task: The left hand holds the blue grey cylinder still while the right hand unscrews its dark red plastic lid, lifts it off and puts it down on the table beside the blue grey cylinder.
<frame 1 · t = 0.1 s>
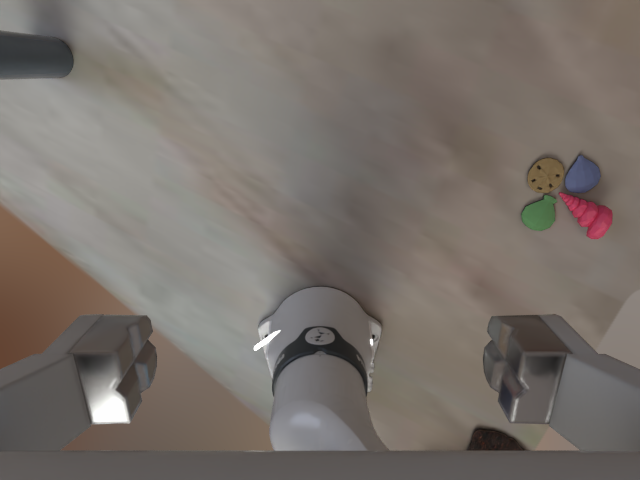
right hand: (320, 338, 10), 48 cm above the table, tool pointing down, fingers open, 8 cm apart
axe head: (471, 466, 77), on the table
toy pieces: (562, 194, 59), on the table
blue grey cylinder: (54, 57, 52), on the table
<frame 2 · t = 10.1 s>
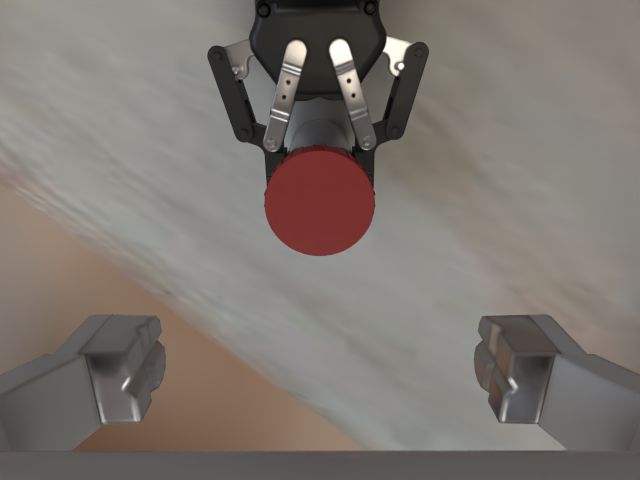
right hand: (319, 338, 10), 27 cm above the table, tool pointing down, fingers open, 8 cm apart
left hand: (320, 200, 31), fingers closed on blue grey cylinder, 4 cm apart
lid: (319, 203, 21), point 16 cm above the table, screwed on, not yet turned
blue grey cylinder: (319, 147, 36), on the table, touching left hand
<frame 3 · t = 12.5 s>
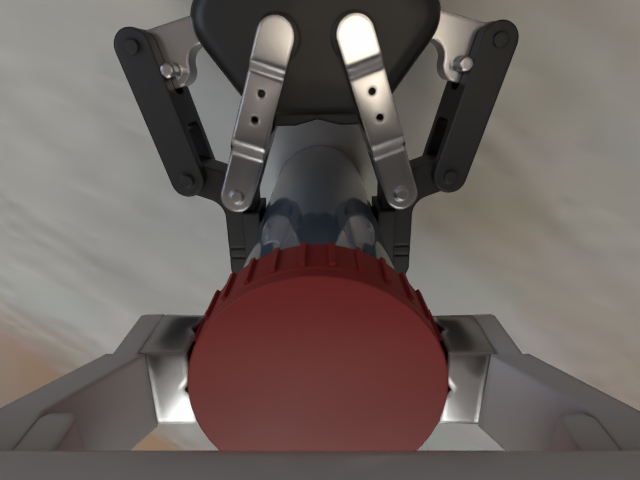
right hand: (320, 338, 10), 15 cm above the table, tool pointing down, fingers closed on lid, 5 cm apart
left hand: (321, 283, 19), fingers closed on blue grey cylinder, 4 cm apart
lid: (317, 381, 9), point 16 cm above the table, screwed on, not yet turned, touching right hand
blue grey cylinder: (319, 187, 24), on the table, touching left hand
when the right hand's fingers open (15 cm above the table, at t = 13.6 s): lid stays where it is, point 16 cm above the table.
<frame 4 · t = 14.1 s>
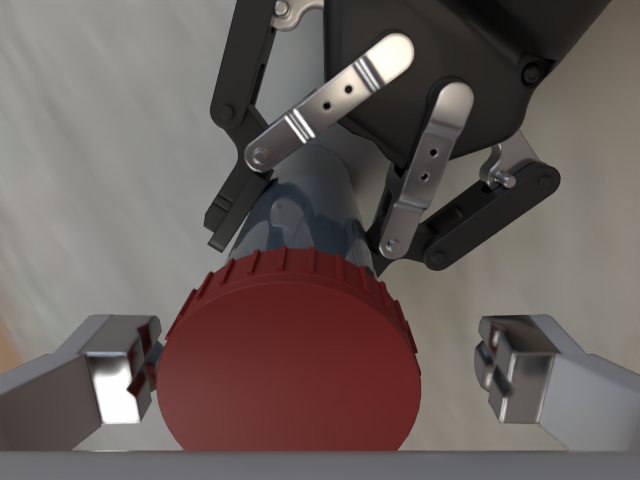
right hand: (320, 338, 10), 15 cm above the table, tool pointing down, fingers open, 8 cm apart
left hand: (272, 273, 19), fingers closed on blue grey cylinder, 4 cm apart
lid: (290, 387, 9), point 16 cm above the table, turned 69° so far, risen 0.2 cm, still on its thread
blue grey cylinder: (309, 186, 24), on the table, touching left hand
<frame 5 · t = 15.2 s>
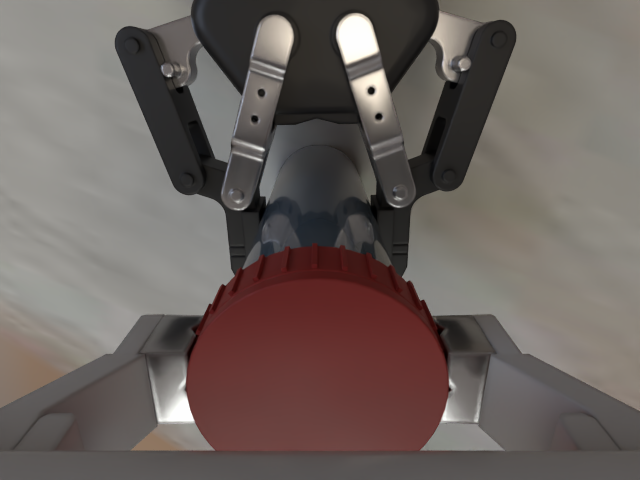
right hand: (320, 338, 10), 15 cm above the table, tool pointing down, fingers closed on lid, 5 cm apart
left hand: (320, 281, 19), fingers closed on blue grey cylinder, 4 cm apart
lid: (317, 384, 9), point 16 cm above the table, turned 69° so far, risen 0.2 cm, still on its thread, touching right hand
blue grey cylinder: (318, 186, 24), on the table, touching left hand
when the right hand's fingers open (2 cm above the table, at t = 20.9 s): lid drops 2 cm, point 1 cm above the table.
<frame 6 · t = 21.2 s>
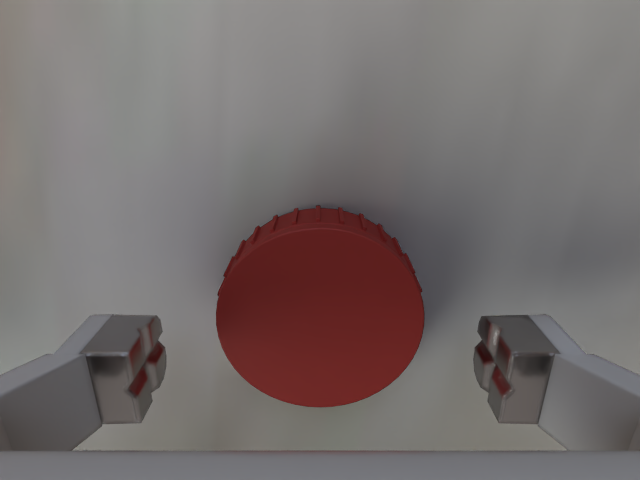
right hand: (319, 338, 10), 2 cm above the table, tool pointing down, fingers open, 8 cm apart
lid: (320, 318, 11), point 1 cm above the table, off its thread
when the left hand's fingers open (6 cm above the table, at t = 22.0 s): blue grey cylinder stays where it is, on the table.
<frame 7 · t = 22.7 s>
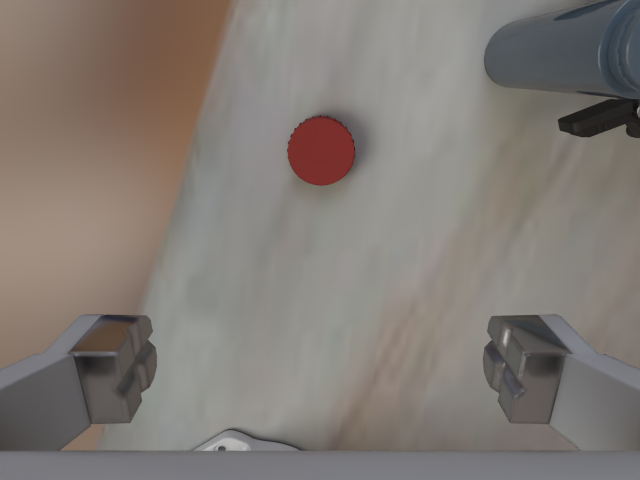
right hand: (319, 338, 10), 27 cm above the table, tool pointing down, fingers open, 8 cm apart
lid: (321, 152, 34), point 1 cm above the table, off its thread
blue grey cylinder: (514, 55, 33), on the table
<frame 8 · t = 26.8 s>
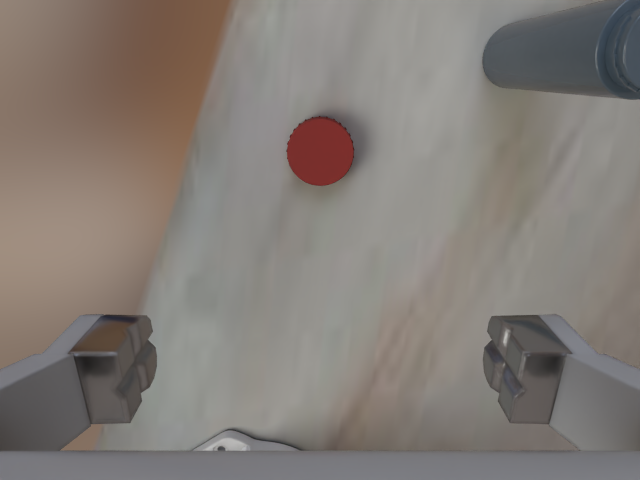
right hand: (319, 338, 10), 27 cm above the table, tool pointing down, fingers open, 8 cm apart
lid: (320, 152, 34), point 1 cm above the table, off its thread
blue grey cylinder: (512, 56, 33), on the table
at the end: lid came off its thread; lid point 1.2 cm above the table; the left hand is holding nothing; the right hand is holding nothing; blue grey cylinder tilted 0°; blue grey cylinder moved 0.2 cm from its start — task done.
